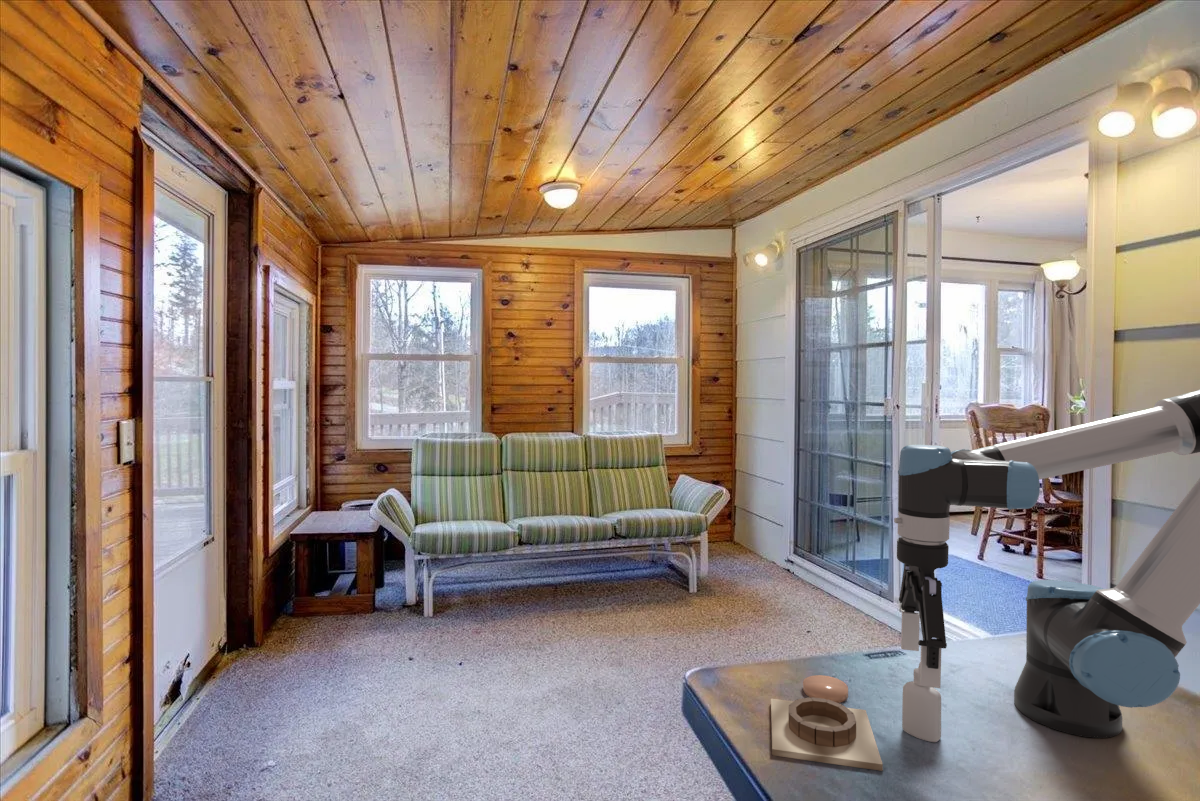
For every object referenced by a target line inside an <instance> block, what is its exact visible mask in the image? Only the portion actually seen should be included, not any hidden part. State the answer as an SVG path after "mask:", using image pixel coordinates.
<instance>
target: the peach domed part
mask: <svg viewBox="0 0 1200 801" xmlns="http://www.w3.org/2000/svg"><path fill="white" fill-rule="evenodd" d="M802 691H803V692H804V694H805V695H806V696H807V697H810V698H811V697H814V698H822V699H827V700H831V701H834V702H837V703H839V704H842V703H843V702H846V701H847V700H848V698H849V687H848V685H847V684H846V683H845V682H844V681H842V680H841V679H839V678H837V677H834V676H829V675H824V674H823V675H822V674H821V675H820V674H817V675H810V676H807V677H805V678H804V679H803V681H802Z"/></svg>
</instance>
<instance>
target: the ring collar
mask: <svg viewBox="0 0 1200 801" xmlns="http://www.w3.org/2000/svg"><path fill="white" fill-rule="evenodd" d="M770 715H771V716H770V718H771V723H770V724H771V752H772V753H771V754H772V756H775V757H783V758H789V759H795V760H802V761H811V762H817V763H825V764H831V765H839V766H845V767H850V768H851V767H852V768H861V769H867V770H872V771H880V772H882V771H883V772H884V764H883V761H882V758H881V754H880V752H879V748H878V745H877V741H876V739H875V738H876V737H875V735H874V733H873V729H872V727H871V722H870V719H869V716H868V713H867V710H866V709H861V708H851V707H846V705H843V704H842V703H837V702H834V701H831V700H827V699H822V698H814V697H811V698H810V697H809V696H807V697H802V698H797V699H795V700H793V701H792V700H784V699H777V698H776V699H775V698H770Z"/></svg>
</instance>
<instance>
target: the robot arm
mask: <svg viewBox="0 0 1200 801" xmlns="http://www.w3.org/2000/svg"><path fill="white" fill-rule="evenodd" d="M1172 452H1173V453H1175V454H1177V455H1179V456H1187V455H1192V454H1197V453H1200V389H1197V390H1194V391H1190V392H1185V393H1182V394H1179V395H1174V396H1171V397H1168V398H1163V399H1160V400H1159V399H1158V400H1157V401H1156V402H1155V403H1154V406H1153V407H1151V408H1147V409H1143V410H1142V409H1141V410H1139V411H1134V412H1130V413H1126V414H1121V415H1116V416H1113V417H1108V418H1104V419H1101V420H1100V419H1099V420H1095V421H1091V422H1087V423H1084V424H1078V425H1073V426H1070V427H1066V428H1061V429H1057V430H1053V431H1049V432H1043V433H1040V434H1035V435H1031V436H1027V437H1023V438H1018V439H1014V440H1010V441H1007V442H1006V441H1005V442H1001V443H997V444H993V445H990V446H989V445H988V446H984V447H983V446H982V447H981V448H976V449H965V448H963V449H956V450H952V451H951V448H949V447H946V446H942V445H935V444H933V445H932V444H931V445H929V444H909V445H905V446H903V447H902V448H901V450H900V453H899V463H898V471H897V474H898V484H897V486H898V488H897V489H898V491H897V492H898V493H897V494H898V495H897V497H898V498H897V499H898V500H897V501H898V503H897V504H898V505H897V506H898V508H897V512H898V513H897V515H898V517H894V519H893V520H894V523H895V524H897V535H898V536H899V537H898V538H897V539H896V559H897V560H898V561H899V562H900V563H902V564H903V573H902V577H901V578H902V579H901V584H900V585H901V586H900V592H899V598H898V601H899V603H900V608H901V628H900V629H901V630H900V631H901V634H900V638H901V640H900V648H901V650H904V651H912V652H913V651H915V652H919V651H920V659H919V660H920V662H919V663H920V685H921V686H925V687H933V688H935V689H941V682H942V680H941V678H942V677H941V674H942V649H946V648H947V646H948V644H947V636H946V629H945V618H944V608H943V599H942V594H943V593H942V586H943V583H942V581H941V579H940V580H939V579H938V577H935V571H936V570H937V569H943V568H946V567H947V566H948V564H949V550H950V549H949V544H948V543H947V541H949V540H950V516H951V515H950V508H951V506H959V507H960V506H965V507H979V508H980V507H981V508H997V509H1005V510H1008V511H1009V510H1011V511H1012V510H1016V509H1017V510H1025V509H1026V510H1027V509H1032V508H1033V507H1035V505H1036V504H1037V502H1038V500H1039V497H1040V493H1041V491H1040V490H1041V483H1040V480H1044V479H1048V478H1052V477H1053V478H1054V477H1059V476H1062V475H1063V476H1064V475H1068V474H1072V473H1077V472H1081V471H1085V470H1091V469H1095V468H1100V467H1105V466H1109V465H1114V464H1120V463H1124V462H1128V461H1133V460H1134V461H1135V460H1138V459H1143V458H1146V457H1147V458H1148V457H1153V456H1157V455H1161V454H1166V453H1172ZM1026 591H1027V592H1026V597H1025V601H1026V637H1025V638H1026V642H1025V644H1026V645H1025V646H1026V656H1025V657H1026V658H1025V659H1026V661H1025V664H1024V666H1023V668H1022V670H1021V673H1020V675H1019V678H1018V679H1017V681H1016V685H1015V687H1014V690H1013V691H1014V692H1013V702H1014V705H1015V707H1016V709H1018V711H1020V713H1021V714H1023V715H1025V717H1027V718H1029V719H1031V720H1033V721H1034V722H1036V723H1039V724H1041V725H1043V726H1045V727H1047V728H1051V729H1053V730H1056V731H1059V732H1063V733H1066V734H1070V735H1074V736H1079V737H1086V738H1094V739H1095V738H1097V739H1100V738H1101V739H1102V738H1104V739H1106V738H1113V737H1117V736H1118V735H1120V734H1121V733H1122V731H1123V713H1122V709H1121V708H1120V707H1124V708H1131V709H1132V708H1148V707H1152V706H1156V705H1158V704H1160V703H1162V702H1164V701H1166V700H1167V699H1168V698H1170V697H1171V695H1173V693H1175V691H1176V690H1177V688H1178V686H1179V683H1180V680H1181V673H1180V671H1179V663H1178V660H1177V658H1176V657H1177V656H1178V655H1179V654H1180V652H1181V651H1182V650H1183V649H1184V648H1185V646H1186V645H1187V640H1186V637H1185V635H1184V631H1183V625H1184V624H1185V623H1186V622H1187V620H1188V619H1189V618H1190V616H1192V614H1193V613H1194V612H1195V611H1196V609H1197V608H1198V607H1199V606H1200V478H1199V479H1198V480H1197V481H1196V483H1195V484H1194V485H1193V486H1192V487H1191V489H1190V490H1189V491H1188V493H1187V494H1186V495H1185V497H1184V498H1183V499H1182V500H1181V501H1180V503H1179V504H1178V505H1177V507H1176V509H1174V511H1172V513H1171V515H1170V516H1169V518H1168V519H1167V520H1166V521H1165V522H1164V524H1163V525H1162V526H1161V528H1159V530H1158V531H1157V533H1156V534H1155V535H1154V536H1153V538H1152V539H1151V540H1150V542H1149V543H1148V544H1147V545H1146V547H1145V548H1144V550H1142V552H1141V554H1140V555H1139V556H1138V557H1137V559H1136V560H1135V561H1134V562H1133V564H1132V565H1131V566H1130V568H1129V569H1128V570H1127V571H1126V573H1125V574H1124V576H1123V577H1122V578H1120V580H1119V582H1118V583H1117V584H1116V585H1115V586H1114V587H1111V588H1103V587H1101V586H1097V585H1092V584H1086V583H1082V582H1073V581H1067V580H1051V579H1049V580H1048V579H1042V580H1040V579H1039V580H1035V581H1034V580H1033V581H1031V582H1030V583H1029V584H1028V586H1027V590H1026ZM920 627H921V628H920ZM920 629H921V634H922V640H921V639H920Z"/></svg>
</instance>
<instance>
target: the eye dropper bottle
mask: <svg viewBox="0 0 1200 801" xmlns="http://www.w3.org/2000/svg"><path fill="white" fill-rule="evenodd" d="M901 703H902V706H901V707H902V710H901V712H902V714H901V716H902V721H901V722H902V723H901V726H902V727H901V728H902V730H903V731H904V732H905V733H907V734H909V735H910V736H912V737H915V738H917V739H919V740H921V741H924V742H925V741H926V742H930V743H937V742H938V741H939V740H940V739H941V738H942V695H941V692H940V691H938V690H937V688H933V687H925V686H921V685H920V662H919V664H918V667H916V668H914V669H913V681H907V682H906V683H905V684H904V685H903V686H902V702H901Z"/></svg>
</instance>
